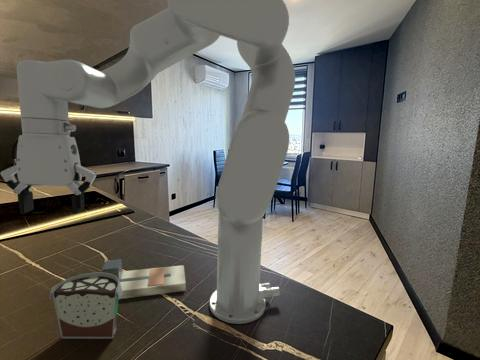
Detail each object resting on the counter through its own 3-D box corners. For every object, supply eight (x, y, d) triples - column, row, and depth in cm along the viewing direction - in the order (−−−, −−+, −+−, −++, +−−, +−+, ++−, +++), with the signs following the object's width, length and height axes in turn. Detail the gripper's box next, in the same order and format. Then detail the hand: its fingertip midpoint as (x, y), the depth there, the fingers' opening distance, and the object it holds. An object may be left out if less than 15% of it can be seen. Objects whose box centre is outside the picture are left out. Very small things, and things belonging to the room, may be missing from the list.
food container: (134, 315, 53) (132, 271, 51) (121, 338, 47) (119, 289, 45) (73, 315, 52) (70, 270, 51) (53, 338, 46) (48, 288, 45)
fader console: (183, 271, 70) (183, 264, 70) (185, 290, 62) (185, 282, 61) (95, 281, 64) (95, 273, 64) (84, 303, 56) (83, 294, 56)
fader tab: (122, 273, 64) (121, 259, 63) (119, 283, 59) (118, 267, 59) (107, 275, 63) (106, 260, 62) (102, 285, 59) (101, 269, 58)
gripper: (100, 131, 55) (103, 207, 58) (11, 127, 53) (19, 206, 55) (84, 130, 48) (89, 217, 51) (-19, 126, 45) (-9, 217, 48)
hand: (53, 211), depth 53 cm, fingers open, 9 cm apart
